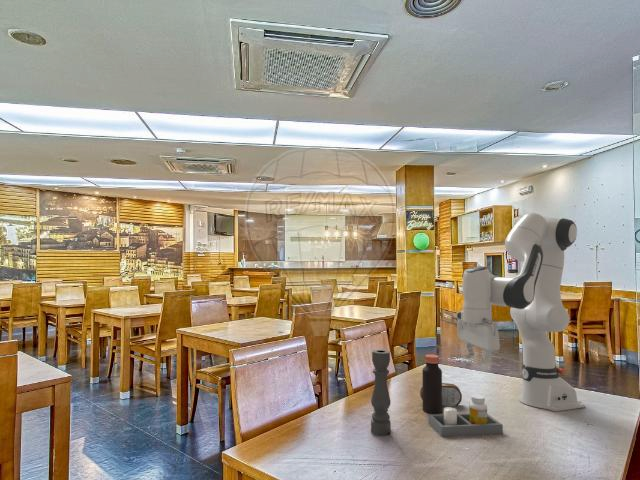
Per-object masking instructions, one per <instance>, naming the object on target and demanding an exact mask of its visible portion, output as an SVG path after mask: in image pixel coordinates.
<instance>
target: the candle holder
mask: <svg viewBox="0 0 640 480" xmlns="http://www.w3.org/2000/svg"><path fill="white" fill-rule="evenodd" d="M371 359H372V360H371V361H372V364H373V366H374V368H373V369H372V373H373V374H374V387H373V389H372V390H373V391H372V395H371V399H370V400H371V402H370V403H371V406H372V407H373V410H374V412H372V414H371V420H370V432H371V434H373V435H375V436H379V437H385V436H390V434H391V429H392V428H391V424H392V423H391V420H390V419H391V417H390V415H389V413H388V411H389V410H388V409H389V408H390V406H391V403H392V402H391V396H390V393H389V388H388V387H389V386H388V375H389V374H390V370H389V369H388V367H389V366H390V363H391V352H390V350H387V349H372V351H371Z"/></svg>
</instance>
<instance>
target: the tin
mask: <svg viewBox="0 0 640 480" xmlns="http://www.w3.org/2000/svg"><path fill="white" fill-rule="evenodd" d="M419 395H420V399H421V400H422V401H423V385H422V386H421V388H420V390H419ZM462 399H463V395H462V392H461V390H460V388H459V386H457V385H456V384H454V383H450V382H449V383H448V382H444V383H443V382H442V407H452V406H453V407H454V406H455V407H457V406H459V405H460V404H461V402H462Z"/></svg>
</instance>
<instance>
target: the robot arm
mask: <svg viewBox="0 0 640 480" xmlns="http://www.w3.org/2000/svg"><path fill="white" fill-rule="evenodd" d="M577 232H578V229H577V224H576V223H575V222H574V221H573V220H571V219H568V218H565V217H564V218H563V217H562V218H559V217H558V218H557V217H547V216H546V217H545V216H543V215H542V214H539V213H536V212H529V213H525V214H524V215H522V216H521V217H520V218H519V219H518V220H517V221H516V222H515V223H514V225H513V227H512V228H511V230H510V231H509V233H508V234H507V236H506V238H505V240H504V247H505V250H506V252H507V254H508V255H509V256H510V257H512V258H513V259H514V260H516V261H518V262H522V265H521V269H520V272H519V274H517V275H515V276H496V275H494V274H492V273H491V272H490V271H489V268H488V267H487V266H470V267H468V268H466V269H465V270H464V271H463V277H462V286H461V287H462V288H461V289H462V290H461V291H462V296H463V303H462V310H460V311H457V312H456V314H455V316H456V319H457V325H456V326H457V336H458V339H459V340H460V341H461V342H462V341H463V342H464V346H465V349H466V355H467V356H468V357H470V358H471V357H475V351H474V349H473V346H475V347H477V348H479V349H482V352H483V356H482V357H481V362H482V364H485V365H486V364H487V365H488V364H490V361H491V356H492V353H493V352H499V351H500V348H501V347H500V346H501V344H500V335H499V330H498V328H497V325H496V324H495V323H494V320H493V316H492V315H493V313H492V308H493V307H492V306H500V307H507V308H508V307H509V308H510V310H509V313H510V314H509V315H510V316H511V319H512V320H513V322H514V323H515V325H516V327H517V329H518V333H519V335H520V340H521V345H522V363H521V375H522V380H521V381H522V382H521V389H520V395H519V396H518V400H519V402H521V403H522V404H525V405H527V406H530V407H535V408H540V409H545V410H549V411H554V412H561V411H568V410H574V409H582V408H581V407H583V408H585V403H584V402H582V400H579V399H578V396H577V392H576V390H575V388H574V386H572V385H571V384H569V383H568V382H567V381H566V380H564V379H563V378H562V377H560V374H561V375H565V374H566V369H565V368H562V367H559V368H558V367H557V366H556V348H555V345H554V344H553V342H552V340H550V338H549V336H548V334H547V333H559V332H563V331H565V330H566V329H567V328H568V326H569V324H570V320H571V318H570V314H569V312H568V310H567V309H566V308H565V307H564V304H563V301H562V296H561V285H562V284H561V283H562V277H563V271H564V265H565V251H566V250H567V249H568V248H570V247H571V246H572V245H573V244H574V242H575V241H576V239H577V235H578V233H577Z"/></svg>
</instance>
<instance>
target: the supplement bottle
mask: <svg viewBox="0 0 640 480" xmlns="http://www.w3.org/2000/svg"><path fill="white" fill-rule="evenodd" d="M485 399H486V397H485V396H483V395H481V394H472V395H471V399H470V400H471V402H470V403H469V405H468V406H469V407H468V408H469V412H468V413H469V422H470V423H471V424H487V414H488V406H487V404H486V403H485V401H486V400H485Z"/></svg>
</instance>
